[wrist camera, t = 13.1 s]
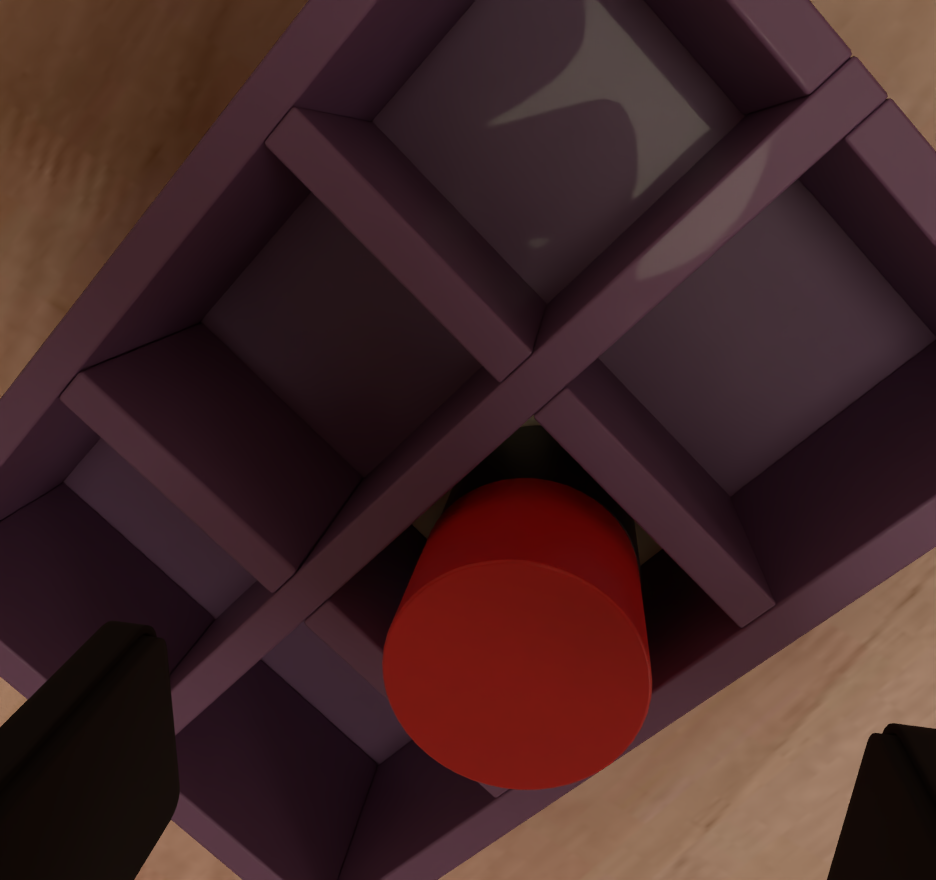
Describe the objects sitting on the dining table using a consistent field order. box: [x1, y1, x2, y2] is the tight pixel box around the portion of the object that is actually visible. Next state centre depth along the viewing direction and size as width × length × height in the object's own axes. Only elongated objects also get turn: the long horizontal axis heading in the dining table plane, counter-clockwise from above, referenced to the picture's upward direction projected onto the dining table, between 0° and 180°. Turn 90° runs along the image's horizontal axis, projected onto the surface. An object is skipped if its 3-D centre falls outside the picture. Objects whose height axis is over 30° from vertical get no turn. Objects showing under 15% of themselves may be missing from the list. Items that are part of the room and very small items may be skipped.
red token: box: [382, 478, 652, 790], centre depth 14 cm, size 4×4×4 cm
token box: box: [0, 0, 936, 880], centre depth 17 cm, size 13×20×6 cm
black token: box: [441, 425, 641, 584], centre depth 18 cm, size 4×4×4 cm
